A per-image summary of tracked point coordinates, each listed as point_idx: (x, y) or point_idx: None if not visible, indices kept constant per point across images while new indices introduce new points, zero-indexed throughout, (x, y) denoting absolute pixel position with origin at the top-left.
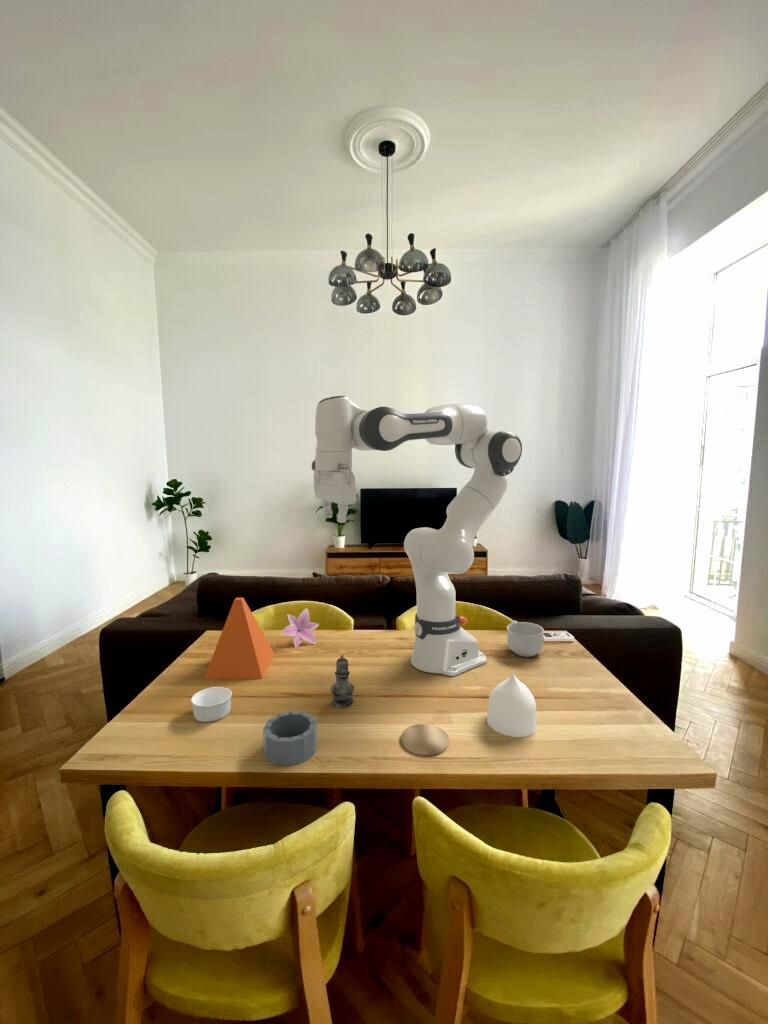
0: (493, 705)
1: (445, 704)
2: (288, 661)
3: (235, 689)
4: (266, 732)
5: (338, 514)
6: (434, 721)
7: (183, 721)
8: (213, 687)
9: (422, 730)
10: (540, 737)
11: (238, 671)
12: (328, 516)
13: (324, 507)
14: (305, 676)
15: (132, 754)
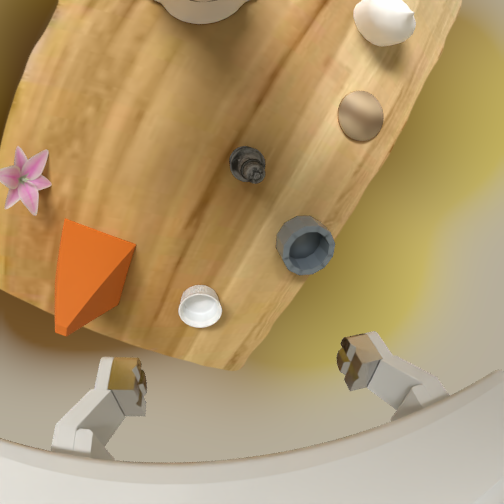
0: (390, 40)
1: (316, 48)
2: (94, 202)
3: (154, 276)
4: (307, 273)
5: (374, 388)
6: (339, 83)
7: None
8: (180, 309)
9: (351, 109)
10: None
11: (123, 275)
12: (143, 378)
13: (112, 433)
14: (150, 188)
15: (239, 347)
